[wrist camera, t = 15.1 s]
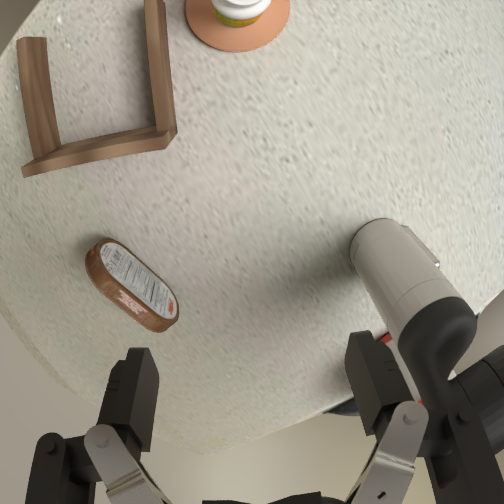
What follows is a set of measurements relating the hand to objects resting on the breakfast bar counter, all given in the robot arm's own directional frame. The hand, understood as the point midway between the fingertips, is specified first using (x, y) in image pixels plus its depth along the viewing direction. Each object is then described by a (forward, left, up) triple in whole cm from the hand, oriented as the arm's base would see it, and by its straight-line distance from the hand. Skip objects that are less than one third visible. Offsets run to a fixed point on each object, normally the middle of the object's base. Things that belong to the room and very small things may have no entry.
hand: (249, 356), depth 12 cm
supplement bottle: (-2, -18, -28) cm, 33 cm away
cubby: (+14, -12, -29) cm, 34 cm away
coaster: (-2, -18, -29) cm, 34 cm away
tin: (+14, +14, -29) cm, 35 cm away
